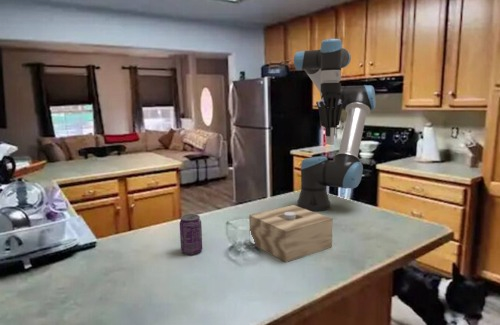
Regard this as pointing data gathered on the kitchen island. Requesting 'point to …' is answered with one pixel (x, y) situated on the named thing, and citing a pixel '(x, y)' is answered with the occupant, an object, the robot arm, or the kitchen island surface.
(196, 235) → the beverage can
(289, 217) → the pill bottle
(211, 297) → the kitchen island surface
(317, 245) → the socket block
